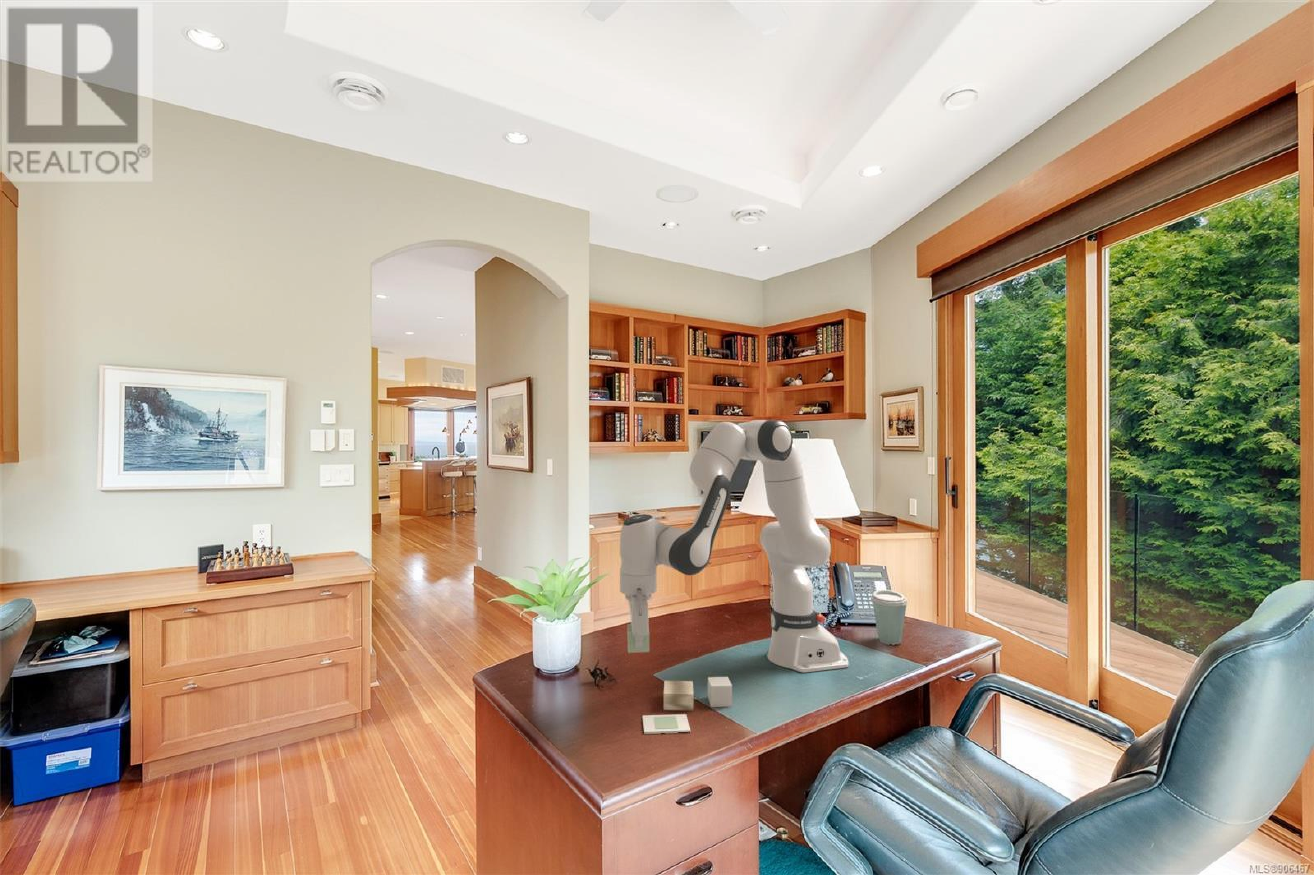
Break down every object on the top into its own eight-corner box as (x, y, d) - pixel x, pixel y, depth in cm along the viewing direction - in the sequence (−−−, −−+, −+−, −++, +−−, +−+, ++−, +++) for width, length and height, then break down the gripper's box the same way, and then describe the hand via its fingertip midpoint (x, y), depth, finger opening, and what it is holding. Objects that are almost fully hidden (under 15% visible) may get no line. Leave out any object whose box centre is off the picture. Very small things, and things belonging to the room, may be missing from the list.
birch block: (692, 697, 136) (692, 681, 136) (693, 711, 129) (693, 694, 129) (664, 696, 136) (664, 680, 136) (663, 710, 129) (663, 693, 129)
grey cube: (727, 697, 136) (727, 676, 136) (732, 706, 131) (732, 685, 131) (707, 697, 136) (707, 677, 136) (711, 707, 131) (711, 686, 131)
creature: (622, 684, 145) (596, 672, 148) (626, 665, 144) (600, 653, 148) (607, 697, 138) (580, 684, 141) (611, 677, 137) (585, 664, 140)
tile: (686, 716, 126) (686, 713, 126) (690, 732, 119) (690, 730, 119) (642, 717, 126) (642, 715, 126) (644, 734, 119) (644, 731, 119)
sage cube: (648, 644, 135) (648, 623, 135) (649, 652, 130) (649, 630, 130) (627, 644, 134) (627, 624, 134) (628, 652, 129) (628, 631, 129)
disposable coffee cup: (913, 648, 169) (913, 599, 169) (877, 647, 169) (878, 598, 169) (898, 635, 179) (899, 589, 179) (865, 635, 180) (865, 589, 180)
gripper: (654, 596, 122) (654, 658, 122) (648, 572, 142) (648, 626, 142) (626, 596, 121) (626, 659, 121) (624, 573, 142) (624, 627, 142)
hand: (638, 641), depth 132 cm, fingers closed on sage cube, 5 cm apart
